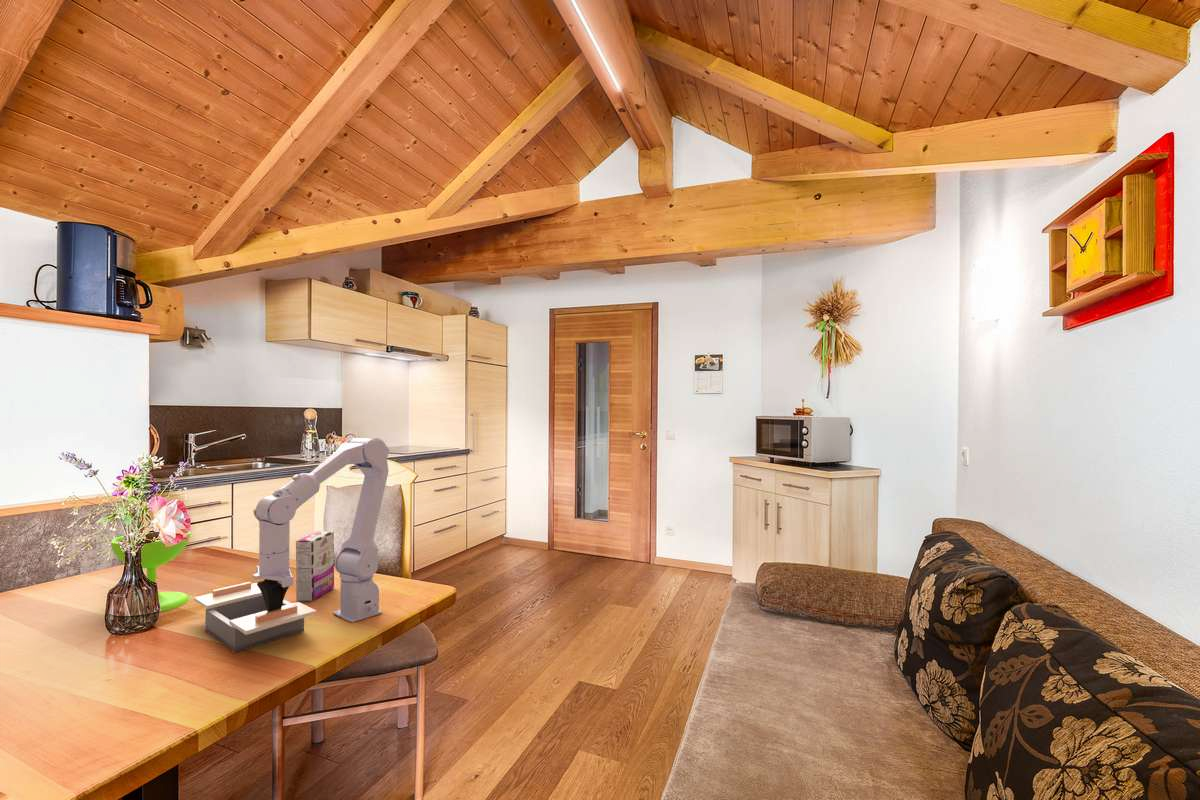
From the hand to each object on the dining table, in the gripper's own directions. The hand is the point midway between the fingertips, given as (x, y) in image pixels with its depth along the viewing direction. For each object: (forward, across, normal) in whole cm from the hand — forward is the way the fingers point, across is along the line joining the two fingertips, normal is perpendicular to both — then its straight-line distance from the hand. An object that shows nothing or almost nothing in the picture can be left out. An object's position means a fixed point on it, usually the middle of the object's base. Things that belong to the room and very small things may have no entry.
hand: (274, 613), depth 118 cm
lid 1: (+1, -23, 0) cm, 23 cm away
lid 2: (+1, 0, 0) cm, 1 cm away
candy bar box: (+7, -24, +20) cm, 32 cm away
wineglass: (+7, -50, -10) cm, 52 cm away
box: (+7, -10, 0) cm, 12 cm away
